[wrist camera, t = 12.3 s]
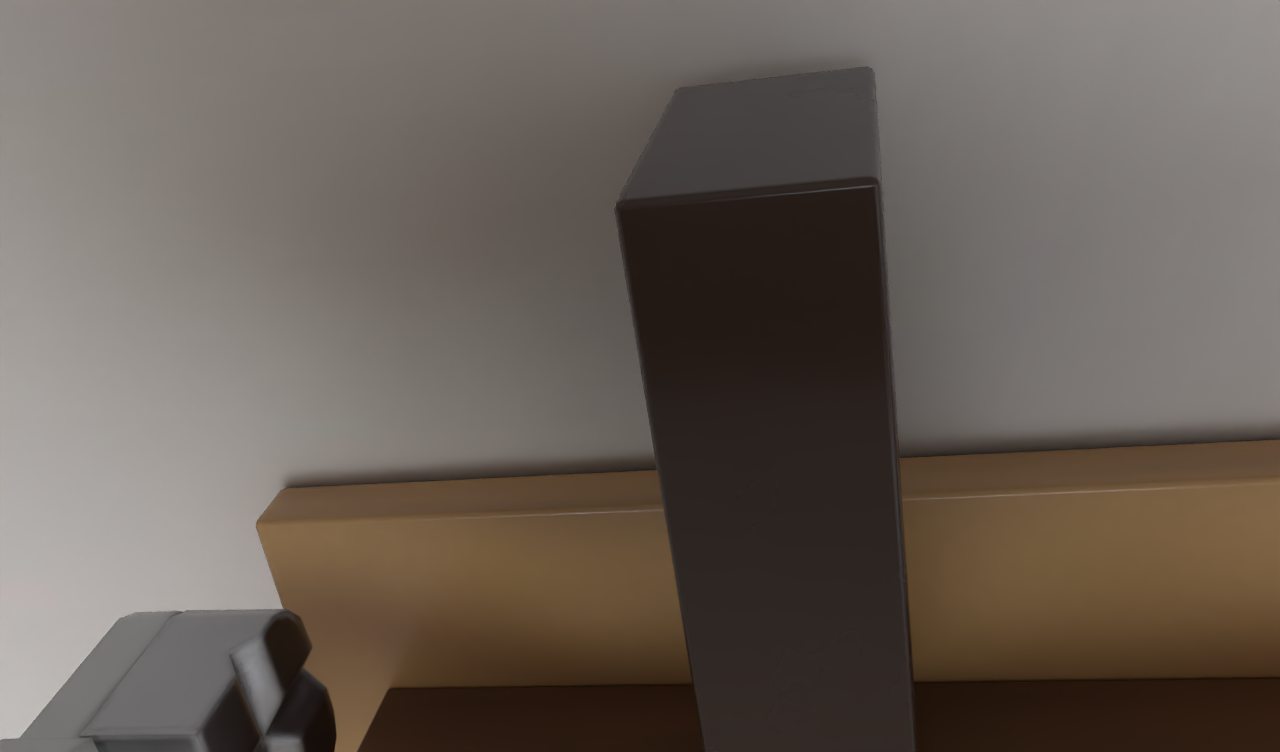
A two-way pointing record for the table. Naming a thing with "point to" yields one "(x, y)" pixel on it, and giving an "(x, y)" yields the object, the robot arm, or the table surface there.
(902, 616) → the cake knife
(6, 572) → the table surface
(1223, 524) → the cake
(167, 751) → the robot arm
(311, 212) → the table surface
